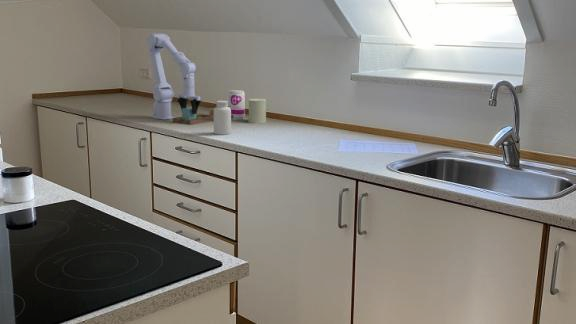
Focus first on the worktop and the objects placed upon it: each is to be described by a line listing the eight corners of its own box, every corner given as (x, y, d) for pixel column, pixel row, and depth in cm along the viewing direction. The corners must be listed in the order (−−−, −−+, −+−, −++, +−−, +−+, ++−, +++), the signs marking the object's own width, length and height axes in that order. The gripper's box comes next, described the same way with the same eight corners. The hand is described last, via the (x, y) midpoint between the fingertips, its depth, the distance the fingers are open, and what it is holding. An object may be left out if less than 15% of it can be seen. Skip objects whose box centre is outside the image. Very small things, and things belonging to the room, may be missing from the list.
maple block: (209, 108, 326) (218, 107, 332) (209, 118, 328) (218, 116, 333) (215, 109, 323) (225, 108, 329) (215, 119, 324) (225, 117, 330)
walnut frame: (172, 121, 312) (172, 118, 312) (200, 117, 328) (200, 113, 327) (190, 124, 305) (190, 120, 304) (218, 120, 320) (218, 116, 320)
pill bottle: (217, 135, 277) (217, 102, 273) (211, 132, 284) (210, 100, 280) (233, 134, 280) (233, 101, 277) (227, 131, 287) (226, 99, 284)
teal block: (182, 122, 312) (182, 108, 311) (189, 121, 316) (189, 107, 314) (189, 123, 309) (188, 109, 308) (196, 122, 313) (196, 108, 312)
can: (257, 123, 310) (257, 100, 307) (244, 121, 316) (244, 98, 313) (269, 121, 316) (270, 98, 314) (257, 119, 322) (257, 97, 320)
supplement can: (242, 120, 320) (242, 91, 316) (227, 119, 321) (227, 91, 318) (246, 118, 327) (246, 90, 324) (231, 117, 329) (231, 89, 326)
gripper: (173, 86, 310) (173, 112, 313) (193, 88, 301) (193, 115, 304) (183, 85, 315) (183, 111, 318) (203, 87, 307) (203, 114, 310)
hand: (189, 113), depth 312 cm, fingers open, 7 cm apart
